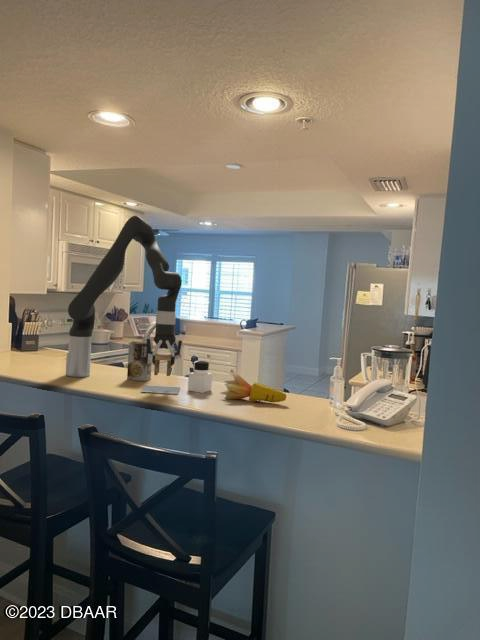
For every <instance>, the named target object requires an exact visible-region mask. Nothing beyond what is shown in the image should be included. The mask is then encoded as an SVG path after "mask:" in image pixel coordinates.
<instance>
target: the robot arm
mask: <svg viewBox="0 0 480 640" xmlns="http://www.w3.org/2000/svg"><path fill="white" fill-rule="evenodd" d="M132 240H133V241H135V242H138V243H139V244H140V245H141V246H142V247H143V248H144V250H145V259H146V262H147V264H148V266H149V267H150V270H151V271H152V277H153V283H154V286H155V287H156V288H157V289H159V290H165V291H166V290H167V293H166V294H165V295H160V296H158V299H157V308H156V309H157V310H156V316H155V333H154V336H153V337H152V338H151V337H147V339H146V342H147V349H148V353H149V354H152V364H153V366H155V354H156V353H158V351H159V349H166V350H168V351H169V352H170V353H171V355H172V356H171V367H173V365H175V361H176V356H179V355H180V353H181V349H182V343H183V340H182V339H176V337H175V335H176V334H175V332H176V319H177V317H176V305H177V299H178V297H179V293H180V290H181V287H182V277H181V275H180V274H179V273H178V272H174V271H169V269H170V264H169V262H168V260H167V259H166V257H165V255H164V254H163V252H162V250H161V248H160V246H159V243H158V240H157V239H156V235H155V233H154V229H153V227H152V225H150V223H149V222H147V221H146V220H144V219H143V218H141V217H140V216H138V215H133V216H130V218H128V219H127V220H126V222H125V223H124V224H123V226H122V228H121V230H120V232H119V234H118V235H117V237H116V239H115V241H114V242H113V244H112V246H110V248H109V250H108V252H107V253H106V254H105V256H103V258H102V260H101V261H100V262H99V264H98V265H97V267H96V268H95V270H94V271H93V273H91V276H90V277H89V278H88V280H87V282H86V283H85V284H84V286H83V288H82V289H81V290H80V291H79V292H78V293H77V294H76V296H75V297H74V298H73V299H72V300H71V301H70V303H69V305H68V307H67V308H68V309H67V312H68V316H69V317H70V318H71V319H72V326H71V327H70V328H69V334H68V352H67V353H66V358H65V359H66V361H65V376H66V377H72V378H73V377H74V378H85V377H89V376H90V375H91V359H92V358H91V357H92V356H91V355H92V338H93V331H94V329H95V328H94V327H95V321H96V320H95V319H96V317H95V316H96V308H95V307H96V306H95V302H96V301H97V300H98V298H99V297H100V296H101V295H102V294H104V292H105V291H107V290H108V289H109V288H110V287H111V286H112V285H113V284H114V283H115V282H116V280H117V278H118V277H119V276H120V274H121V273H122V271H123V270H124V266H125V259H126V252H127V250H128V249H127V248H128V247H129V245H130V243H131V242H132ZM152 343H155V345H156V346H155V347H154V349H153V348H152V349H151V344H152ZM175 343H176V346H177V349H176V352H175V350H174V347H173V345H174V344H175Z"/></svg>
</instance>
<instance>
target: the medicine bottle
mask: <svg viewBox="0 0 480 640" xmlns="http://www.w3.org/2000/svg"><path fill="white" fill-rule="evenodd" d="M209 367H210V363H209V362H208V361H206V360H195V361H194V362H193V368H192V369H193V372H189V373H188V379H187V380H188V383H187V391H189V392H195V393H201V394H204V393H208V392H211V391H212V385H213V373H212V372H209Z"/></svg>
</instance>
